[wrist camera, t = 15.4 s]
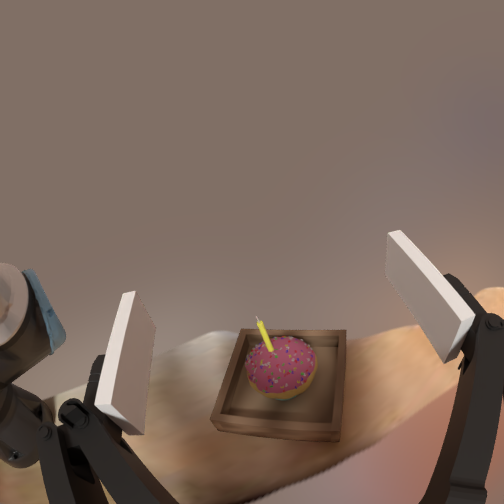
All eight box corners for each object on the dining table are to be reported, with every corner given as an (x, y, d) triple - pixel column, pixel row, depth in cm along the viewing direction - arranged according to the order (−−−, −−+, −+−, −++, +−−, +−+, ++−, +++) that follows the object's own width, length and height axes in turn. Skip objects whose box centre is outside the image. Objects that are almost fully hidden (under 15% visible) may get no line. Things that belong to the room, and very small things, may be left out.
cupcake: (240, 391, 38) (213, 333, 31) (280, 350, 42) (265, 286, 36) (291, 424, 32) (277, 371, 26) (331, 375, 37) (329, 312, 30)
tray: (218, 430, 34) (209, 419, 32) (246, 343, 46) (241, 328, 44) (339, 441, 30) (340, 431, 28) (346, 345, 42) (346, 329, 40)
